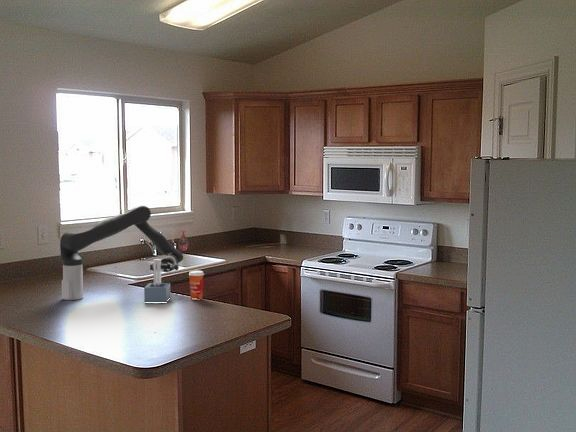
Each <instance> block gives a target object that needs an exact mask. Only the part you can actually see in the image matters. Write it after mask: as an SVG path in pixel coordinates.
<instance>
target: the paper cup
mask: <svg viewBox="0 0 576 432" xmlns="http://www.w3.org/2000/svg"><path fill="white" fill-rule="evenodd" d="M188 275H189V277H188V278H189V292H190V299H191V298H197V299H202V300H203V289H204V287H203V286H204V275H205V273H204V271H203V270H191V271H189V273H188Z"/></svg>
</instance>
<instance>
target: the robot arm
mask: <svg viewBox="0 0 576 432" xmlns="http://www.w3.org/2000/svg"><path fill="white" fill-rule="evenodd" d="M151 215H152V212H151V210H150V208H149V207H148V206H146V205H138V206H136V207H133V208H131V209H130V210H129V211H128V212H126V213H125V212H124V213H121V214H118V215H114V216H111V217H108V218H104V219H103V220H100V221H99V222H97V223H96V224H95V225H93V226H92V227H91V228H90V229H87V230H84V231H81V232H73V231H67V232H64V233H63V234H62V235H61V237H60V241H59V242H60V243H59V248H60V249H59V250H60V259H61V261H62V278H63V279H62V280H61V299H62V300H65V301H77V300H81V299H83V298H84V278H83V271H84V270H83V259H82V257H81V256H80V254H79V251H81V250H83V249H85V248H87V247H89V246H90V245H93V244H94V243H97V242H99V241H102V240H105V239H106V238H110V237H112V236H114V235H117V234H118V233H119V234H120V233H121V232H123V231H124V230H127V229H128V228H129V227H132V226H135V227H136V228H137V229H139V231H140V232H141V233H142V234H144V236H146V237H147V238H148V239H149V240H150V241H151V243H152V244H153V245H154V246H155V248H156V249H157V250H158V251H159V252H160V253H161V254H166V253H169V254H168V255H166V256H165V257H163V258H162V259H161V272H164V273H170V272H172V271H178V270H179V266H180V265H179V263H181V262H182V261H184V255H183V253H182V252H181V251H180V250H178V248H176V247H175V246H173V245H172V244H171V243H170V242H169V240H168V239H167V238H166V237H165V236H164V235H163V234H162V233H161V232H160V231H158V230H157V229H156V228H154V227H152V226H151V225H150V224H149V223H148V222H147V221H149V220H150V218H151ZM149 270H150V271H153V272H154V269H153V263H151V264H150V265H149Z"/></svg>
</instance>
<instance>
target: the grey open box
mask: <svg viewBox="0 0 576 432" xmlns="http://www.w3.org/2000/svg"><path fill="white" fill-rule="evenodd" d="M143 293H144V295H143V297H144V298H143V299H144V302H167V300H168V299H169V298H170V299H171V283H170V282H169V283H168V282H166V283H164V282H163V283H162V282H161V287H154V282H149V283H148V284H146V285H145V286H144V289H143ZM144 302H143V303H144Z"/></svg>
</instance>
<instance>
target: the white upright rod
mask: <svg viewBox="0 0 576 432" xmlns="http://www.w3.org/2000/svg"><path fill="white" fill-rule="evenodd" d="M161 260H162V259H161V258H154V259H153V260H152V261H153V263H152V264H153V269H154V271H153V283H154V287H161V283H162V270H161Z"/></svg>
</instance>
